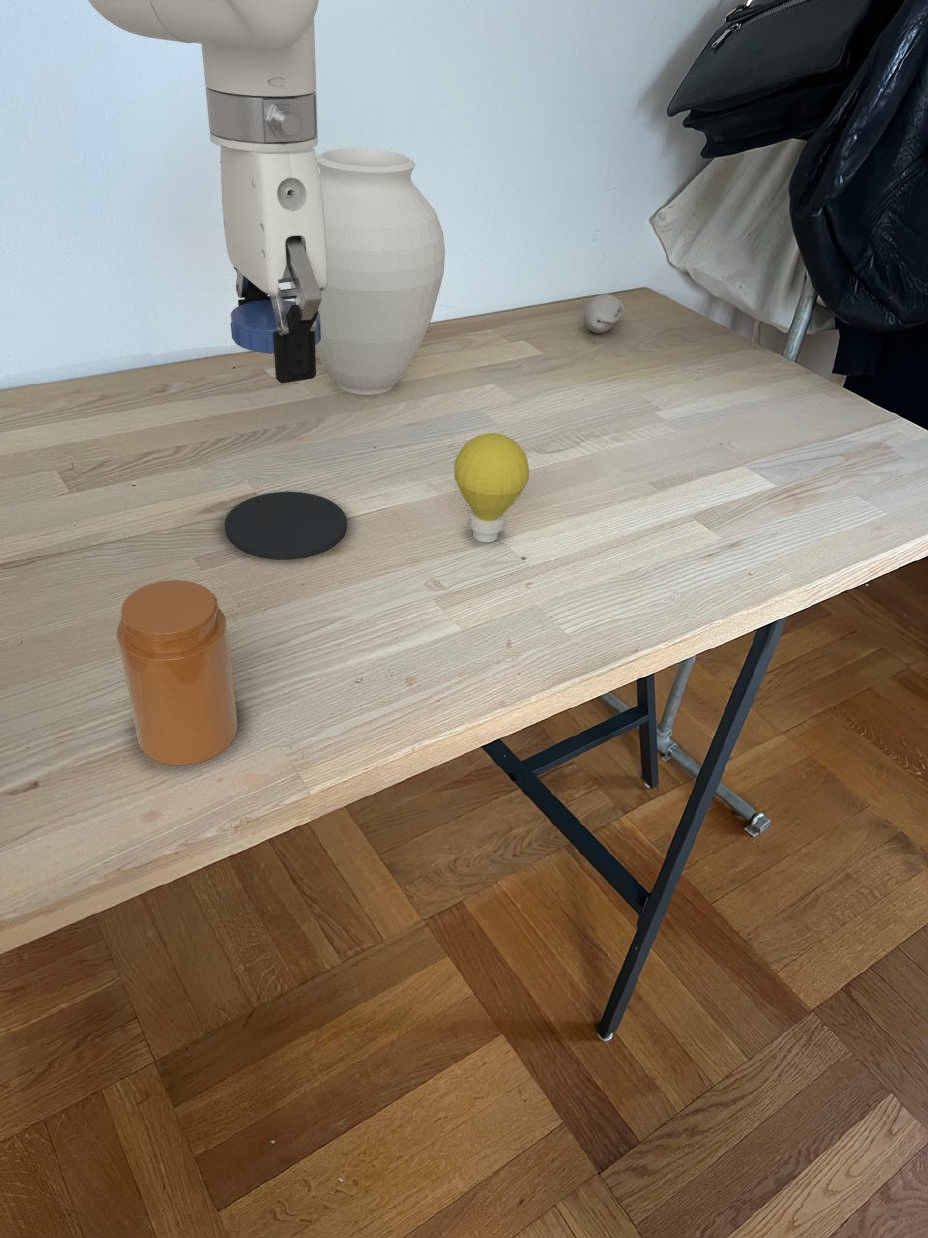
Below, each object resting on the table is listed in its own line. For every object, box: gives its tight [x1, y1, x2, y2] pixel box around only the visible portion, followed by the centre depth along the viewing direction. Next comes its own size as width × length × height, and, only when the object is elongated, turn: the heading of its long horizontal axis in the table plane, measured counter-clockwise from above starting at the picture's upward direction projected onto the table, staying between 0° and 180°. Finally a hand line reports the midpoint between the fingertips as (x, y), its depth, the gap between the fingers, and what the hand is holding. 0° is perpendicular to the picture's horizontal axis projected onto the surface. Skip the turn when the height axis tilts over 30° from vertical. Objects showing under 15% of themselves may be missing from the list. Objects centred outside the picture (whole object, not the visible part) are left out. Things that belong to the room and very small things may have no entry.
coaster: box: [224, 491, 348, 560], centre depth 85 cm, size 11×11×1 cm
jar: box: [116, 579, 239, 766], centre depth 60 cm, size 7×7×11 cm
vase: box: [289, 147, 446, 396], centre depth 105 cm, size 18×18×25 cm
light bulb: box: [453, 432, 530, 543], centre depth 83 cm, size 7×7×10 cm
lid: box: [230, 299, 321, 355], centre depth 74 cm, size 7×7×2 cm
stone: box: [583, 293, 625, 334], centre depth 131 cm, size 10×5×5 cm, turn 165°
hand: (277, 360), depth 76 cm, fingers closed on lid, 7 cm apart
